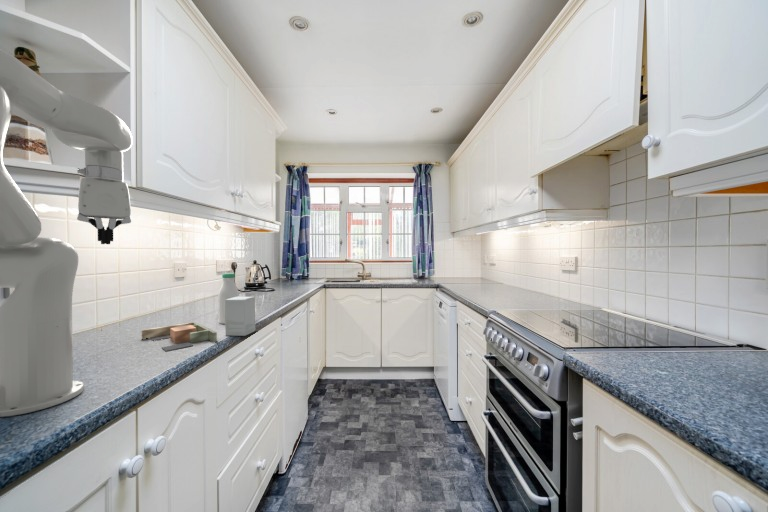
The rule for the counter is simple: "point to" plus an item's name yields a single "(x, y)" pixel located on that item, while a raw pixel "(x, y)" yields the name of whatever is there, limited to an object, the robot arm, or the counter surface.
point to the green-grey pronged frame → (199, 335)
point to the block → (181, 333)
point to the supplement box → (239, 316)
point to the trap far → (161, 337)
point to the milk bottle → (226, 294)
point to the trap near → (177, 346)
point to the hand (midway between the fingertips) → (105, 243)
